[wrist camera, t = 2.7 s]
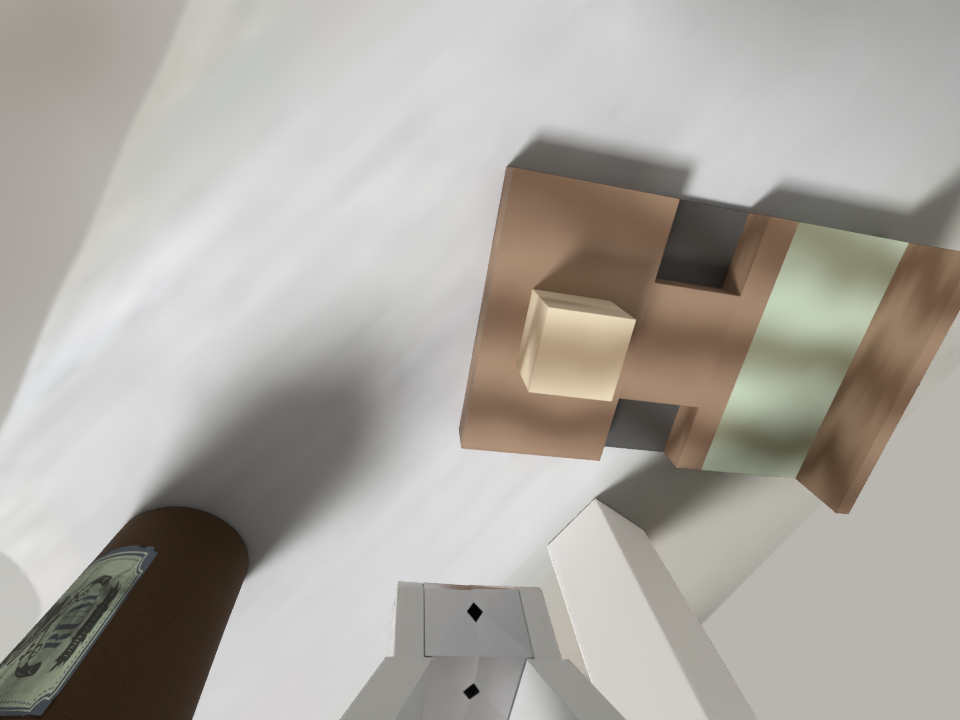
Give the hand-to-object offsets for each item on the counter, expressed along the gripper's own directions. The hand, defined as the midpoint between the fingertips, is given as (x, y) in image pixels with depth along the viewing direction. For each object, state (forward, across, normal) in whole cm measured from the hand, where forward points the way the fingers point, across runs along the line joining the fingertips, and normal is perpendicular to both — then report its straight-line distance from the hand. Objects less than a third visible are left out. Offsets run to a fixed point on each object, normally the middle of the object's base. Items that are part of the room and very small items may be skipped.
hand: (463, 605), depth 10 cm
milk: (+23, -16, +18) cm, 34 cm away
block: (+21, -8, 0) cm, 22 cm away
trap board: (+23, -17, 0) cm, 29 cm away
